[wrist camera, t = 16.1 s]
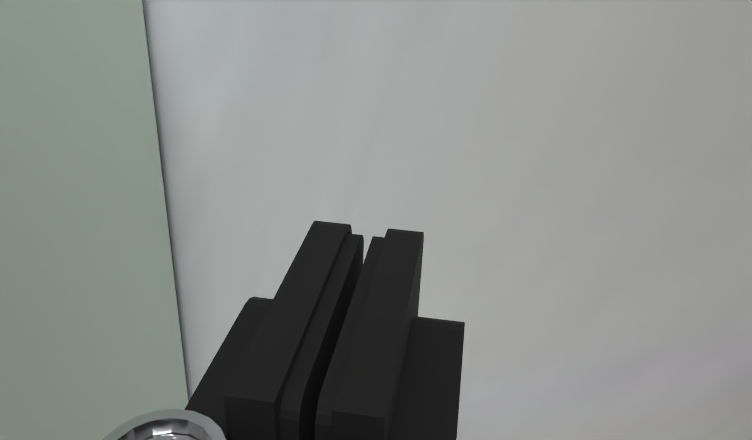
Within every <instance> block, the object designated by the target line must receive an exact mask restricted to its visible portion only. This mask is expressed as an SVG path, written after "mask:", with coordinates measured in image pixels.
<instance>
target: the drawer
mask: <svg viewBox="0 0 752 440" xmlns="http://www.w3.org/2000/svg"><path fill="white" fill-rule="evenodd" d="M187 404H188V393H187V385H186V376H185V367H184V359H183V350H182V342H181V333H180V324H179V316H178V307H177V298H176V290H175V281H174V273H173V264H172V255H171V247H170V238H169V229H168V221H167V212H166V204H165V195H164V186H163V178H162V169H161V160H160V152H159V143H158V135H157V126H156V117H155V109H154V100H153V91H152V83H151V74H150V66H149V57H148V48H147V40H146V31H145V22H144V14H143V5H142V0H0V440H103V439H104V438H105V437H106V436H107V435H108V434H110V433H111V432H112V431H113V430H114V429H115V428H117V427H118V426H119V425H121V424H123V423H125V422H127V421H129V420H131V419H133V418H134V417H136V416H139V415H143V414H146V413H150V412H153V411H156V410H168V409H182V410H184V409H185V408H186V406H187Z"/></svg>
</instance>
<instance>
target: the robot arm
mask: <svg viewBox="0 0 752 440" xmlns="http://www.w3.org/2000/svg"><path fill="white" fill-rule="evenodd" d="M423 239H424V233H423V232H416V231H406V230H397V229H388V230H387V232H386V235H385V238H384V237H375V236H373V238H372V240H371V243H370V246H369V249H368V252H367V255H366V258H365V261H364V264H363V249H364V240H363V235H356V234H352V230H351V225H350V224H340V223H331V222H321V221H314V222H313V224H312V226H311V228H310V229H309V231H308V233H307V235H306V237H305V239H304V241H303V243H302V245H301V247H300V249H299V251H298V253H297V255H296V256H295V258H294V260H293V262H292V264H291V266H290V268H289V270H288V272H287V274H286V276H285V278H284V280H283V282H282V284H281V285H280V287H279V289H278V291H277V293H276V295H275V297H274V299H267V298H259V297H252V298H249V300H248V301H247V302H246V304H245V305H244V307H243V309H242V310H241V312H240V314H239V316H238V317H237V319H236V321H235V323H234V324H233V326H232V328H231V329H230V331H229V333H228V335H227V336H226V338H225V340H224V342H223V343H222V345H221V347H220V349H219V350H218V352H217V354H216V355H215V357H214V359H213V361H212V362H211V364H210V366H209V368H208V369H207V371H206V373H205V375H204V376H203V378H202V380H201V381H200V383H199V385H198V387H197V388H196V390H195V392H194V394H193V395H192V397H191V399H190V401H189V402H188V404H187V406H186V408H185V409H184V410H182V409H168V410H156V411H153V412H150V413H146V414H143V415H139V416H136V417H134V418H133V419H131V420H129V421H127V422H125V423H123V424H121V425H119V426H118V427H117V428H115V429H114V430H113V431H112V432H111V433H110V434H108V435H107V436H106V437H105V438H104V439H103V440H456V437H457V423H458V409H459V396H460V382H461V368H462V354H463V340H464V326H465V323H464V322H457V321H449V320H441V319H432V318H424V317H418V305H419V292H420V279H421V266H422V254H423Z"/></svg>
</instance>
